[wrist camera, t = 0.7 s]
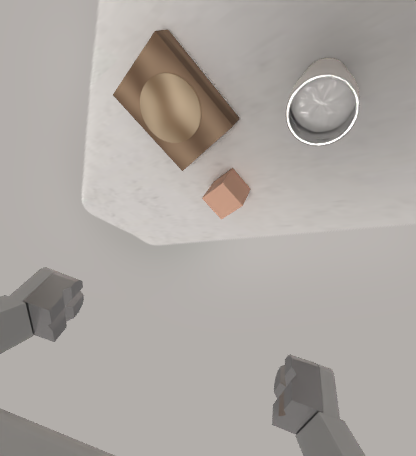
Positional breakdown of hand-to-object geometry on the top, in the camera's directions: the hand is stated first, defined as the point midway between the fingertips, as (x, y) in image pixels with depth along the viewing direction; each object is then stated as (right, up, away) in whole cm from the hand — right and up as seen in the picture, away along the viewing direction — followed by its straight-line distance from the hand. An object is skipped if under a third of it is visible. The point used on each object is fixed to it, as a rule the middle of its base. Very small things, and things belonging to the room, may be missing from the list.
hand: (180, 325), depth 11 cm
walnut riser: (-3, +24, +36) cm, 43 cm away
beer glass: (+17, +23, +28) cm, 40 cm away
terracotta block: (+5, +11, +42) cm, 44 cm away
